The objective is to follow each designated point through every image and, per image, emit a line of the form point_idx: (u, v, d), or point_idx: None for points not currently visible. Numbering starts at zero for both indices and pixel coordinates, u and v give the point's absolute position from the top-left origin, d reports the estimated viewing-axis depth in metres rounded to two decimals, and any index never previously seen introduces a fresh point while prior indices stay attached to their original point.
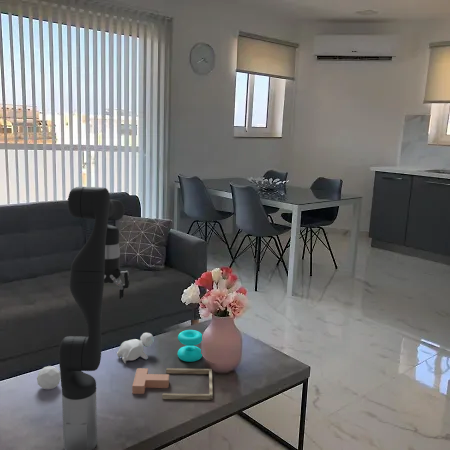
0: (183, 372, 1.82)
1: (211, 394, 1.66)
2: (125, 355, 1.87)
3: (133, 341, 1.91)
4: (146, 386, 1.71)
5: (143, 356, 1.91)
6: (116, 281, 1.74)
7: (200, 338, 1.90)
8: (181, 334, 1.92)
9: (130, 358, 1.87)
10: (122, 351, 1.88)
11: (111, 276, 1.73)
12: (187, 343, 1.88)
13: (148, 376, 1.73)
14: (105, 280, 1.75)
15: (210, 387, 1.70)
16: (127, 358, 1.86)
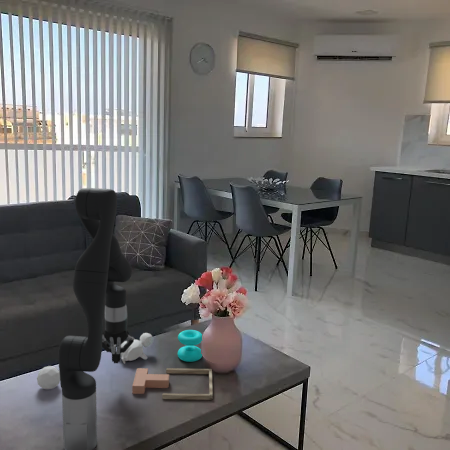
0: (183, 372, 1.82)
1: (211, 394, 1.66)
2: (124, 355, 1.86)
3: None
4: (146, 386, 1.71)
5: (142, 356, 1.90)
6: (118, 345, 1.68)
7: (200, 338, 1.90)
8: (181, 334, 1.92)
9: (129, 358, 1.87)
10: None
11: (118, 338, 1.67)
12: (187, 343, 1.88)
13: (148, 376, 1.73)
14: (116, 340, 1.68)
15: (210, 387, 1.70)
16: (126, 358, 1.86)
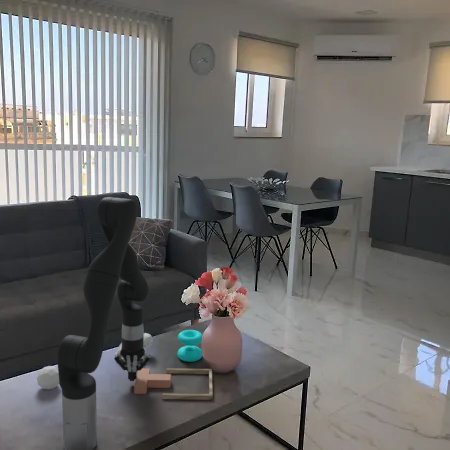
0: (183, 372, 1.82)
1: (211, 394, 1.66)
2: None
3: None
4: (148, 386, 1.71)
5: (142, 357, 1.90)
6: (135, 363, 1.70)
7: (200, 338, 1.90)
8: (181, 334, 1.92)
9: None
10: None
11: (135, 356, 1.69)
12: (187, 343, 1.88)
13: (150, 376, 1.73)
14: (132, 358, 1.70)
15: (210, 387, 1.70)
16: None
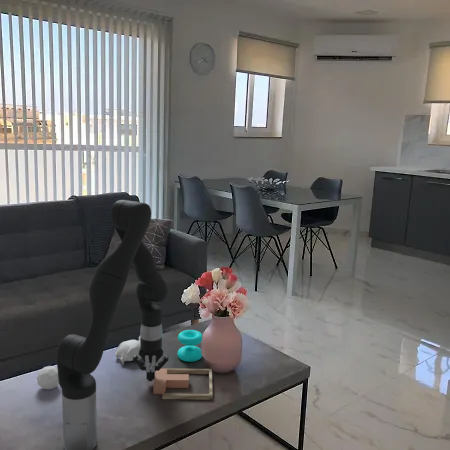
0: (183, 372, 1.82)
1: (211, 394, 1.66)
2: (123, 356, 1.86)
3: (131, 342, 1.90)
4: (166, 386, 1.72)
5: None
6: (154, 363, 1.70)
7: (200, 338, 1.90)
8: (181, 334, 1.92)
9: (128, 359, 1.87)
10: (120, 352, 1.88)
11: (154, 356, 1.69)
12: (187, 343, 1.88)
13: (168, 376, 1.74)
14: (151, 359, 1.70)
15: (210, 387, 1.70)
16: (125, 359, 1.86)
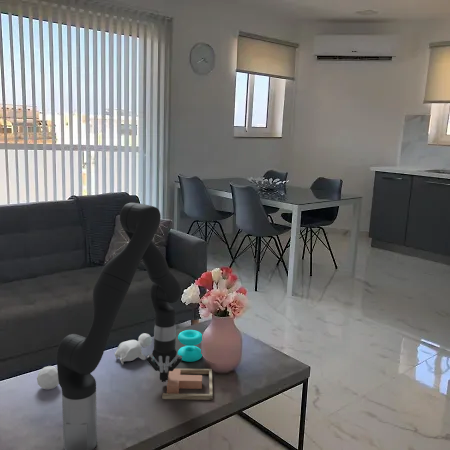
0: (183, 372, 1.82)
1: (211, 394, 1.66)
2: (123, 356, 1.86)
3: (131, 342, 1.90)
4: (180, 387, 1.72)
5: (141, 357, 1.90)
6: (167, 363, 1.70)
7: (200, 338, 1.90)
8: (181, 334, 1.92)
9: (128, 359, 1.86)
10: (120, 352, 1.87)
11: (167, 357, 1.69)
12: (187, 343, 1.88)
13: (181, 377, 1.74)
14: (164, 359, 1.70)
15: (210, 387, 1.70)
16: (125, 359, 1.86)
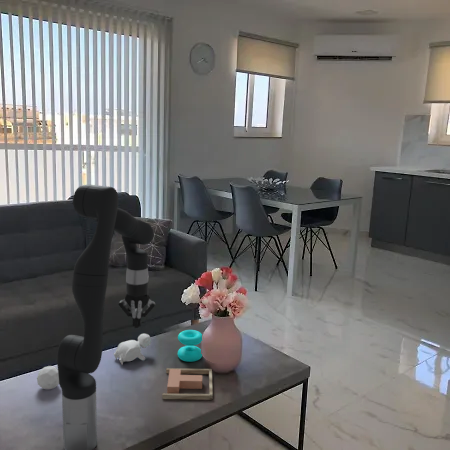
0: (183, 372, 1.82)
1: (211, 394, 1.66)
2: (122, 356, 1.86)
3: (130, 342, 1.90)
4: (180, 387, 1.72)
5: (140, 357, 1.90)
6: (139, 309, 1.67)
7: (200, 338, 1.90)
8: (181, 334, 1.92)
9: (127, 359, 1.86)
10: (119, 352, 1.87)
11: (139, 302, 1.66)
12: (187, 343, 1.88)
13: (182, 377, 1.74)
14: (137, 304, 1.67)
15: (210, 387, 1.70)
16: (124, 359, 1.85)
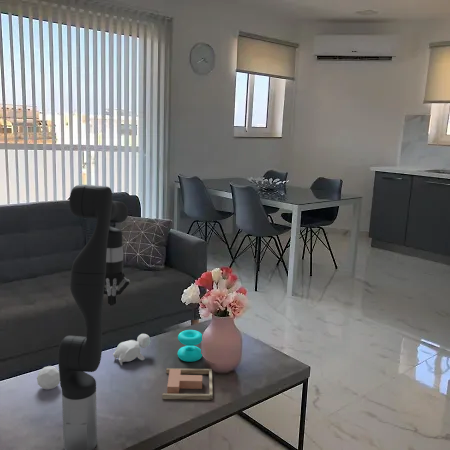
0: (183, 372, 1.82)
1: (211, 394, 1.66)
2: (121, 356, 1.86)
3: (130, 342, 1.90)
4: (180, 387, 1.72)
5: (140, 357, 1.89)
6: (114, 286, 1.71)
7: (200, 338, 1.90)
8: (181, 334, 1.92)
9: (126, 359, 1.86)
10: (118, 352, 1.87)
11: (114, 279, 1.70)
12: (187, 343, 1.88)
13: (182, 377, 1.74)
14: (112, 282, 1.71)
15: (210, 387, 1.70)
16: (123, 359, 1.85)
